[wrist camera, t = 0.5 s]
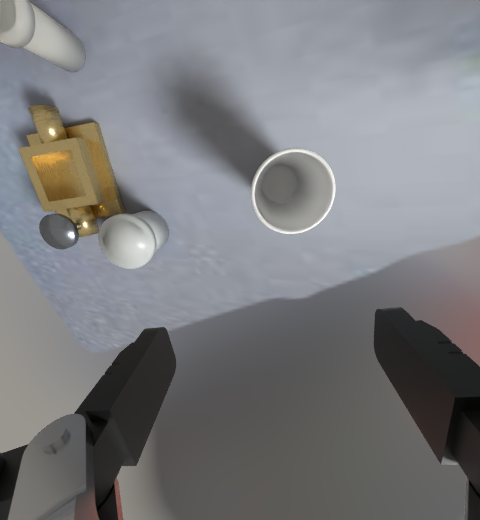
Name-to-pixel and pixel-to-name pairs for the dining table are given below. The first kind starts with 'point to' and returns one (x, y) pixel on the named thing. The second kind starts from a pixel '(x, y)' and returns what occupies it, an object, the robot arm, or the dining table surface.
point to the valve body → (69, 177)
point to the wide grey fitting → (132, 238)
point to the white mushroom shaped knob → (39, 34)
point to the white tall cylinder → (293, 190)
